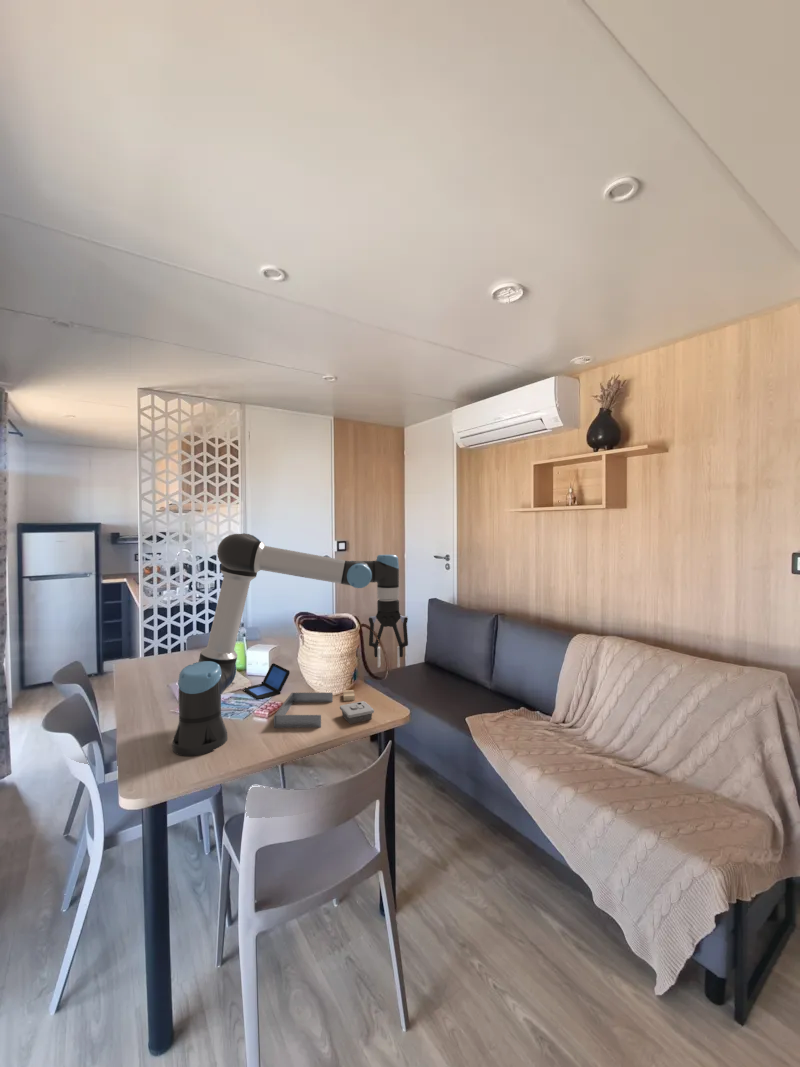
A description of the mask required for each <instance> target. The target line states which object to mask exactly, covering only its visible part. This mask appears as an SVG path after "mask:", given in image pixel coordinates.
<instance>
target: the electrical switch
mask: <svg viewBox="0 0 800 1067" xmlns="http://www.w3.org/2000/svg"><path fill="white" fill-rule="evenodd" d="M339 709H340V711H341V713H342V714H341V715H342V717H343V718H344V719H345V720H346V722H348V723H349V725H353V724H356V723H357V724H358V723H362V722H365V721H369V720H372V716H373V714H374V713H375V709H374V708H373V707H372V706H371V705H370V704H368V703H367V702H366V701H363V700H362V701H357V702H351V703H347V704H340V705H339Z"/></svg>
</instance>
